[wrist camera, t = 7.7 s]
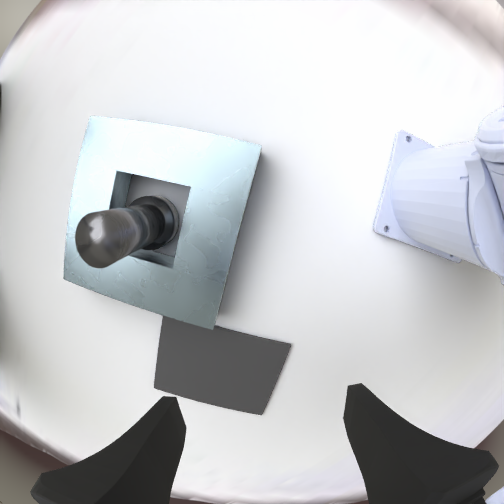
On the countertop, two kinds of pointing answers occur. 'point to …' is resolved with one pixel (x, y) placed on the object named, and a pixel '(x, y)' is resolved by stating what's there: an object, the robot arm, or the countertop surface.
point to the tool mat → (218, 365)
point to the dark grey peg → (125, 230)
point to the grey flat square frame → (194, 222)
